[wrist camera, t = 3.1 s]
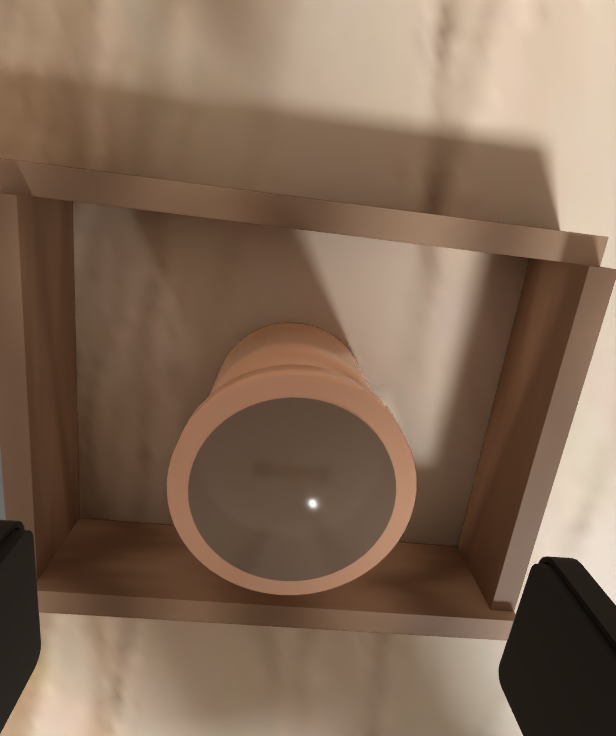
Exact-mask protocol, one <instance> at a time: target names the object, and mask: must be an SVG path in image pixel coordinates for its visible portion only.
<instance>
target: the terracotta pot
mask: <svg viewBox="0 0 616 736" xmlns="http://www.w3.org/2000/svg"><path fill="white" fill-rule="evenodd" d="M416 490H417V486H416V470H415V464H414V459H413V456H412V453H411V450H410V447H409V445H408V443H407V441H406V439H405V437H404V435H403V433H402V431H401V429H400V427H399V425H398V423H397V422H396V420H395V418H394V417H393V415H392V414H391V412H390V411H389V409H388V408H387V407H386V406H385V405H384V403H383V402H382V401H381V400H380V399H379V398H378V397H377V396H376V395H375V394H374V393H372V392H371V391H370V389H369V387H368V385H367V382H366V380H365V378H364V376H363V374H362V372H361V370H360V368H359V366H358V364H357V362H356V360H355V358H354V356H353V355H352V354H351V352H350V351H349V350H348V348H347V347H346V346H345V345H344V344H343V343H342V342H341V341H339V340H338V339H337V338H336V337H334V336H333V335H331V334H330V333H328V332H326V331H324V330H322V329H320V328H317V327H314V326H310V325H306V324H300V323H281V324H275V325H270V326H267V327H264V328H261V329H259V330H257V331H255V332H253V333H251V334H249V335H248V336H246V337H245V338H244V339H242V340H241V341H240V342H239V343H238V344H237V345H236V346H235V347H234V348H233V349H232V350H231V351H230V353H229V354H228V356H227V357H226V359H225V360H224V362H223V364H222V367H221V369H220V371H219V374H218V376H217V378H216V381H215V383H214V385H213V388H212V390H211V393H210V395H209V396H208V397H207V398H206V399H205V400H204V401H203V402H202V403H201V404H200V406H199V407H198V408H197V409H196V410H195V411H194V413H193V414H192V416H191V417H190V419H189V421H188V422H187V424H186V426H185V428H184V430H183V432H182V434H181V436H180V438H179V440H178V443H177V445H176V447H175V449H174V452H173V454H172V457H171V461H170V465H169V468H168V476H167V500H168V505H169V510H170V514H171V517H172V520H173V523H174V526H175V528H176V530H177V531H178V533H179V535H180V537H181V539H182V540H183V542H184V543H185V545H186V546H187V548H188V549H189V550H190V551H191V552H192V554H193V555H194V556H195V557H196V558H197V559H198V560H199V561H200V562H201V563H202V564H204V565H205V566H206V567H207V568H208V569H210V570H211V571H212V572H214V573H216V574H217V575H219V576H220V577H222V578H224V579H226V580H228V581H230V582H232V583H234V584H236V585H238V586H241V587H244V588H247V589H250V590H254V591H258V592H262V593H268V594H276V595H302V594H311V593H316V592H321V591H326V590H329V589H332V588H335V587H338V586H341V585H343V584H346V583H348V582H350V581H352V580H354V579H356V578H358V577H359V576H361V575H363V574H364V573H366V572H367V571H369V570H370V569H371V568H373V567H374V566H375V565H377V564H378V563H379V562H380V561H381V560H382V559H383V558H384V557H385V556H386V555H387V554H388V553H389V552H390V551H391V550H392V549H393V547H394V546H395V545H396V544H397V542H398V541H399V539H400V537H401V536H402V534H403V533H404V531H405V529H406V527H407V525H408V522H409V520H410V518H411V515H412V511H413V508H414V504H415V497H416Z"/></svg>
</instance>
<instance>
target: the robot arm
mask: <svg viewBox="0 0 616 736" xmlns="http://www.w3.org/2000/svg"><path fill="white" fill-rule="evenodd" d="M40 649H41V638H40V623H39V609H38V594H37V580H36V565H35V550H34V537H33V533H32V531H30V530H25V529H24V525H23V523H22V522H20V521H12V520H0V733H1V731H2V729H3V728H4V726H5V724H6V722H7V720H8V718H9V716H10V714H11V712H12V710H13V709H14V707H15V705H16V703H17V701H18V699H19V697H20V695H21V693H22V691H23V690H24V688H25V686H26V684H27V682H28V680H29V678H30V676H31V674H32V673H33V671H34V669H35V666H36V664H37V661H38V658H39V654H40ZM499 680H500V684H501V687H502V690H503V692H504V694H505V696H506V698H507V701H508V703H509V705H510V707H511V709H512V712H513V714H514V716H515V718H516V721H517V723H518V725H519V727H520V729H521V732H522V734H523V736H616V605H615V604H614V603H613V602H612V600H611V599H610V598H609V597H608V596H607V594H606V593H605V592H604V591H603V589H602V588H601V587H600V586H599V585H598V583H597V582H596V581H595V580H594V579H593V577H592V576H591V575H590V574H589V573H588V571H587V570H586V569H585V568H584V566H583V565H582V564H581V563H580V562H579V561H578V560H576V559H573V558H561V557H543V558H542V559H541V560H540V561H539V563H538V564H534V565H533V566H532V568H531V570H530V573H529V576H528V579H527V582H526V585H525V588H524V591H523V594H522V597H521V600H520V603H519V606H518V610H517V613H516V616H515V619H514V622H513V625H512V628H511V631H510V634H509V637H508V640H507V643H506V646H505V649H504V652H503V655H502V658H501V661H500V665H499Z"/></svg>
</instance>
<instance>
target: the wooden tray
mask: <svg viewBox="0 0 616 736" xmlns="http://www.w3.org/2000/svg"><path fill="white" fill-rule="evenodd" d="M73 201H76V202H84V203H92V204H100V205H108V206H116V207H124V208H132V209H140V210H148V211H156V212H164V213H172V214H180V215H188V216H196V217H204V218H212V219H220V220H228V221H236V222H245V223H253V224H261V225H269V226H277V227H285V228H293V229H301V230H309V231H317V232H325V233H333V234H341V235H349V236H357V237H365V238H373V239H381V240H389V241H397V242H405V243H413V244H422V245H430V246H438V247H446V248H454V249H462V250H470V251H478V252H486V253H494V254H502V255H510V256H518V257H526V258H530V261H529V265H528V269H527V273H526V277H525V281H524V285H523V289H522V293H521V297H520V301H519V305H518V309H517V313H516V317H515V321H514V325H513V329H512V333H511V337H510V341H509V345H508V349H507V353H506V357H505V361H504V365H503V369H502V373H501V377H500V381H499V385H498V389H497V393H496V397H495V401H494V405H493V409H492V413H491V417H490V421H489V425H488V429H487V433H486V437H485V441H484V445H483V449H482V453H481V457H480V461H479V465H478V468H477V472H476V476H475V480H474V484H473V488H472V492H471V496H470V500H469V504H468V508H467V512H466V516H465V520H464V524H463V528H462V532H461V536H460V540H459V544H458V547H454V546H441V545H428V544H415V543H401V542H397V544H396V545H395V546H394V547H393V549H392V550H391V551H390V552H389V553H388V554H387V555H386V556H385V557H384V558H383V559H382V560H381V561H380V562H379V563H378V564H377V565H375V566H374V567H373V568H371V569H370V570H369V571H367V572H366V573H364V574H363V575H361V576H359V577H358V578H356V579H354V580H352V581H350V582H348V583H346V584H343V585H341V586H338V587H335V588H332V589H329V590H326V591H321V592H316V593H311V594H302V595H276V594H268V593H262V592H258V591H254V590H250V589H247V588H244V587H241V586H238V585H236V584H234V583H232V582H230V581H228V580H226V579H224V578H222V577H220V576H219V575H217V574H216V573H214V572H212V571H211V570H210V569H208V568H207V567H206V566H205V565H204V564H202V563H201V562H200V561H199V560H198V559H197V558H196V557H195V556H194V555H193V554H192V552H191V551H190V550H189V549H188V548H187V546H186V545H185V543H184V542H183V540H182V539H181V537H180V535H179V533H178V531H177V530H176V528H175V526H174V525H162V524H149V523H135V522H122V521H109V520H95V519H82V518H79V476H78V430H77V384H76V338H75V291H74V245H73ZM607 240H608V237H604V236H596V235H589V234H581V233H573V232H565V231H558V230H550V229H542V228H535V227H527V226H519V225H511V224H504V223H496V222H488V221H480V220H473V219H465V218H457V217H450V216H442V215H434V214H426V213H419V212H411V211H403V210H396V209H388V208H380V207H372V206H365V205H357V204H349V203H341V202H334V201H326V200H318V199H311V198H303V197H295V196H287V195H280V194H272V193H264V192H256V191H249V190H241V189H233V188H226V187H218V186H210V185H202V184H195V183H187V182H179V181H172V180H164V179H156V178H148V177H141V176H133V175H125V174H117V173H110V172H102V171H94V170H87V169H79V168H71V167H63V166H56V165H48V164H40V163H32V162H25V161H17V160H9V159H2V158H0V450H1V463H2V477H3V490H4V504H5V517H6V520H12V521H20V522H22V523H23V525H24V529H25V530H30V531H32V533H33V537H34V550H35V565H36V580H37V594H38V609H39V612H44V613H61V614H77V615H94V616H110V617H127V618H144V619H160V620H177V621H193V622H210V623H227V624H243V625H260V626H276V627H293V628H310V629H326V630H343V631H359V632H376V633H393V634H409V635H426V636H442V637H459V638H476V639H492V640H508V637H509V634H510V631H511V628H512V625H513V622H514V619H515V616H516V614H515V613H514V610H515V607H516V603H517V600H518V597H519V594H520V590H521V587H522V584H523V580H524V577H525V574H526V571H527V567H528V564H529V561H530V558H531V554H532V551H533V548H534V545H535V541H536V538H537V535H538V531H539V528H540V525H541V522H542V518H543V515H544V512H545V509H546V505H547V502H548V499H549V495H550V492H551V489H552V486H553V482H554V479H555V476H556V473H557V469H558V466H559V463H560V460H561V456H562V453H563V450H564V446H565V443H566V440H567V437H568V433H569V430H570V427H571V424H572V420H573V417H574V414H575V410H576V407H577V404H578V401H579V397H580V394H581V391H582V388H583V384H584V381H585V378H586V375H587V371H588V368H589V365H590V361H591V358H592V355H593V352H594V348H595V345H596V342H597V339H598V335H599V332H600V329H601V325H602V322H603V319H604V316H605V312H606V309H607V306H608V303H609V299H610V296H611V293H612V290H613V286H614V283H615V280H616V269H611V268H605V267H600V264H601V261H602V257H603V254H604V251H605V247H606V244H607Z"/></svg>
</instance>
